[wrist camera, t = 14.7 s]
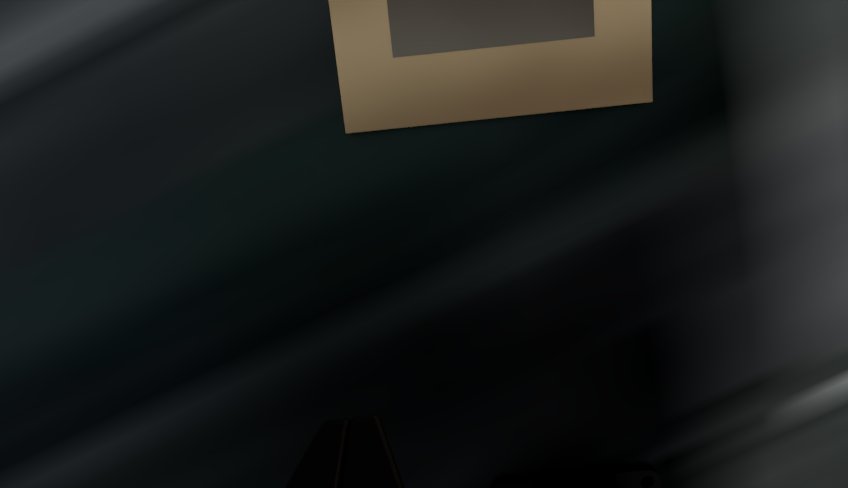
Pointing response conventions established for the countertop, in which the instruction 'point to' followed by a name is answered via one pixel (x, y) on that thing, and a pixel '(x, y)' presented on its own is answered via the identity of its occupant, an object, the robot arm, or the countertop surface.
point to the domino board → (487, 58)
